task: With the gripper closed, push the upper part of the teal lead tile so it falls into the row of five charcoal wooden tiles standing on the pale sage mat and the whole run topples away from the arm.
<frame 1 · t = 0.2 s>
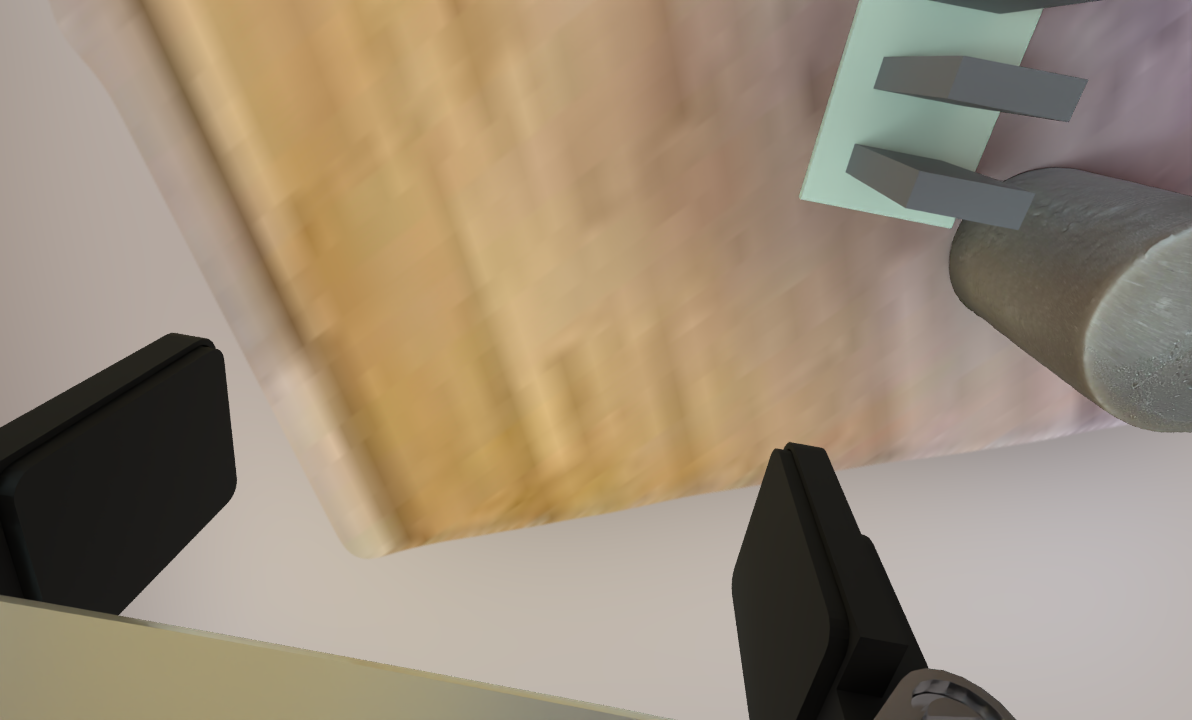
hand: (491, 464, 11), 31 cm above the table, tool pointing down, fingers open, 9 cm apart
pillar candle: (1032, 245, 39), on the table
tile6: (893, 166, 37), point 1 cm above the table, touching mat
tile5: (923, 81, 35), point 1 cm above the table, touching mat
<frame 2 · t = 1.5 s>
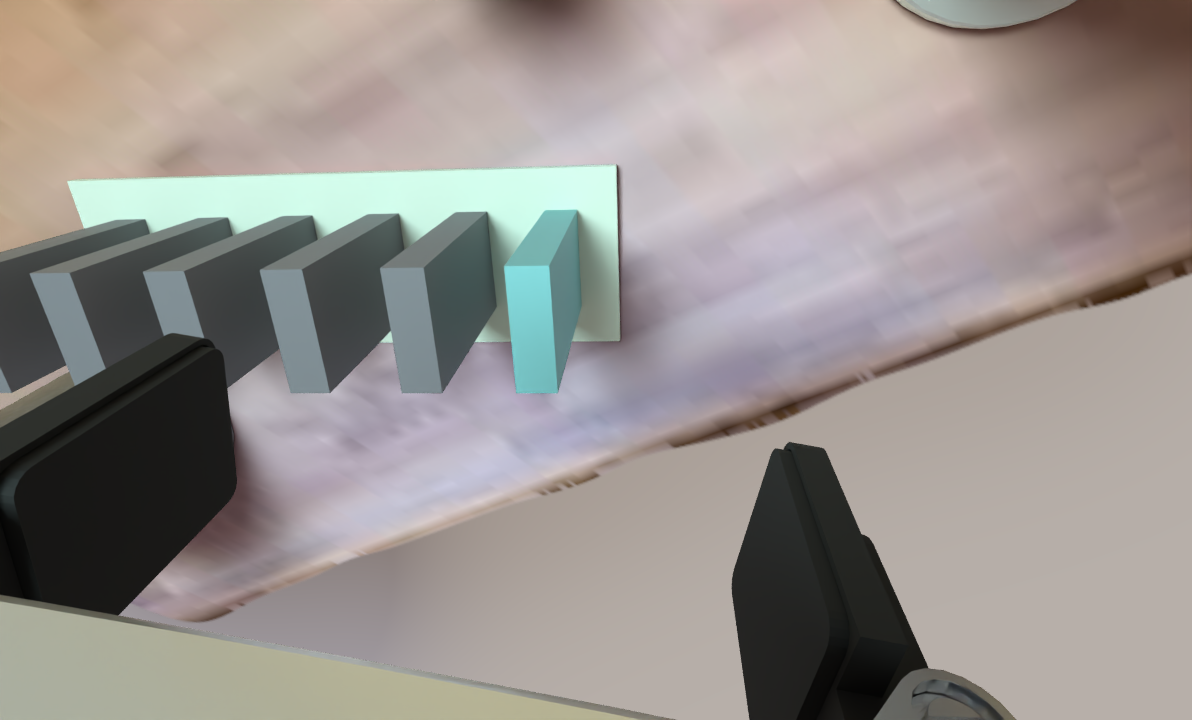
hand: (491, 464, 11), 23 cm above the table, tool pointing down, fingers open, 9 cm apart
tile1: (563, 259, 33), point 1 cm above the table, touching mat
tile4: (307, 263, 34), point 1 cm above the table, touching mat
pillar candle: (162, 419, 40), on the table
tile6: (146, 266, 35), point 1 cm above the table, touching mat
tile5: (226, 264, 34), point 1 cm above the table, touching mat
tile3: (391, 262, 34), point 1 cm above the table, touching mat
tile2: (476, 260, 33), point 1 cm above the table, touching mat
mat: (354, 259, 34), on the table
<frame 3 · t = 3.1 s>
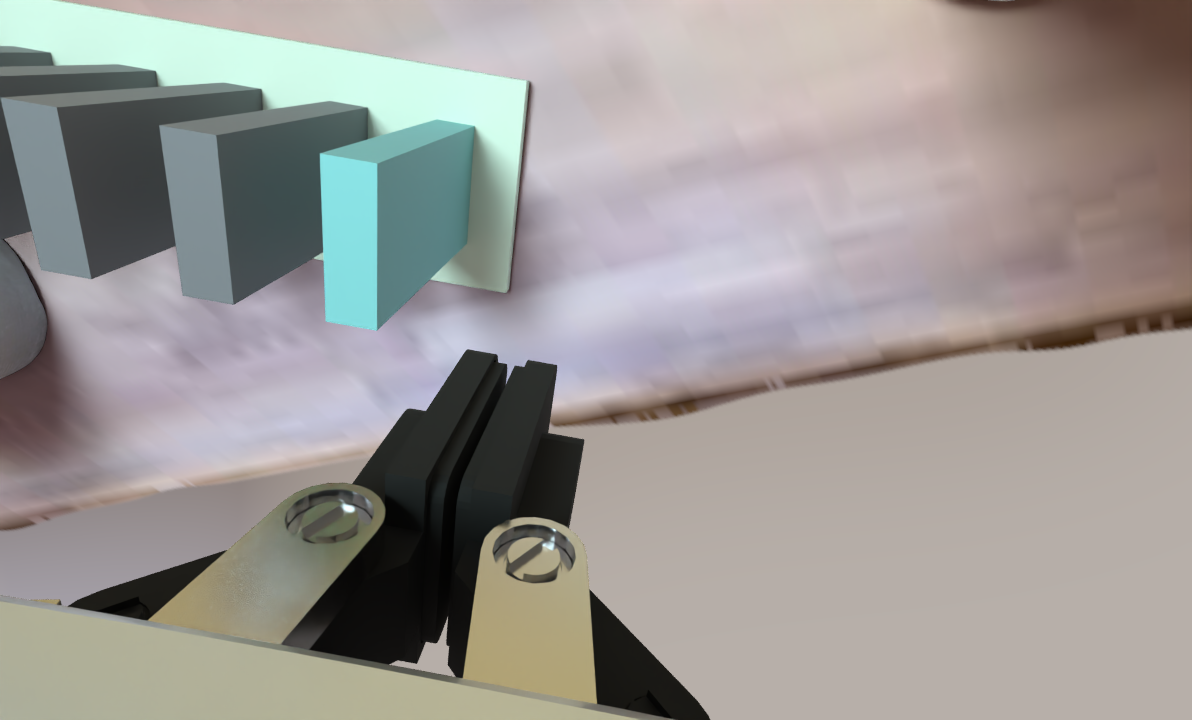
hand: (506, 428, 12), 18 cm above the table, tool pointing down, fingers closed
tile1: (452, 183, 28), point 1 cm above the table, touching mat
tile4: (146, 130, 28), point 1 cm above the table, touching mat
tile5: (45, 112, 28), point 1 cm above the table, touching mat
tile3: (247, 147, 28), point 1 cm above the table, touching mat
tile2: (349, 165, 28), point 1 cm above the table, touching mat
mat: (205, 137, 28), on the table
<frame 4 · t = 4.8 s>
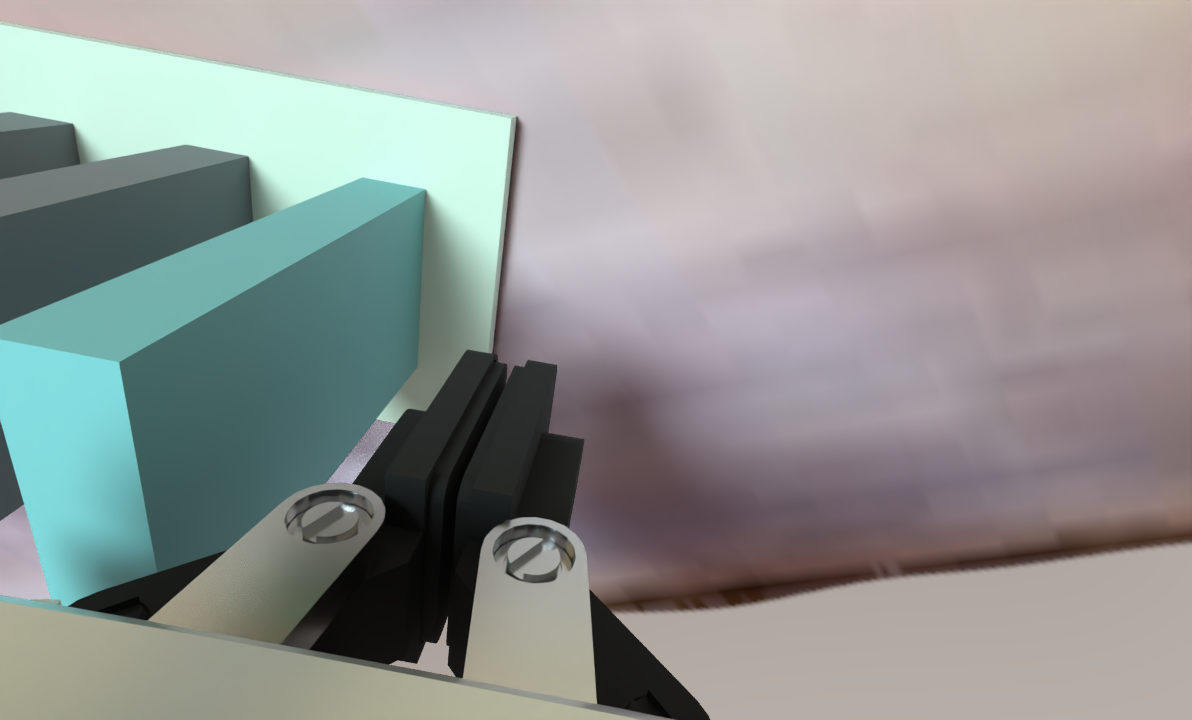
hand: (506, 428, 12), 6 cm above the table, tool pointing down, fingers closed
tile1: (391, 278, 17), point 1 cm above the table, touching mat
tile3: (61, 215, 17), point 1 cm above the table, touching mat
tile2: (226, 246, 17), point 1 cm above the table, touching mat
mat: (0, 196, 18), on the table
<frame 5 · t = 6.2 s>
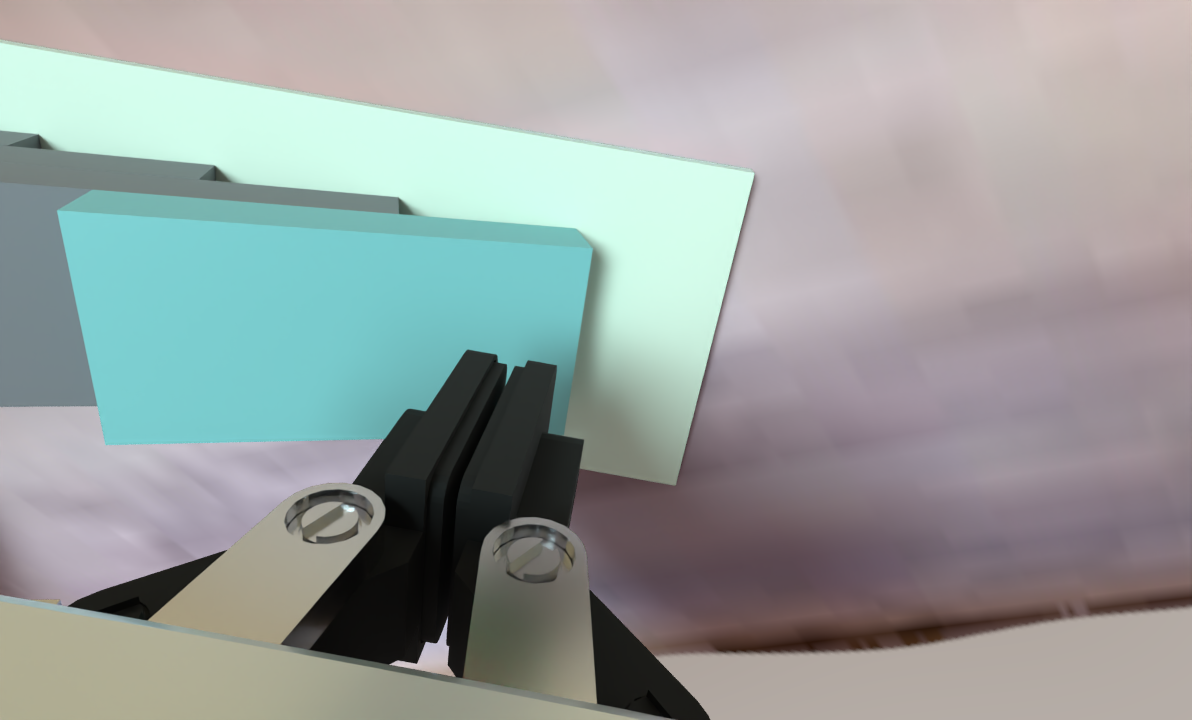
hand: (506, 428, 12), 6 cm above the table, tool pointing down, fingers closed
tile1: (569, 334, 16), point 1 cm above the table, tilted 69°, touching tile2
tile4: (45, 240, 17), point 1 cm above the table, tilted 69°, touching mat, tile3, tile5
tile3: (217, 271, 16), point 1 cm above the table, tilted 69°, touching mat, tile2, tile4
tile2: (396, 303, 16), point 1 cm above the table, tilted 69°, touching mat, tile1, tile3
mat: (204, 249, 18), on the table
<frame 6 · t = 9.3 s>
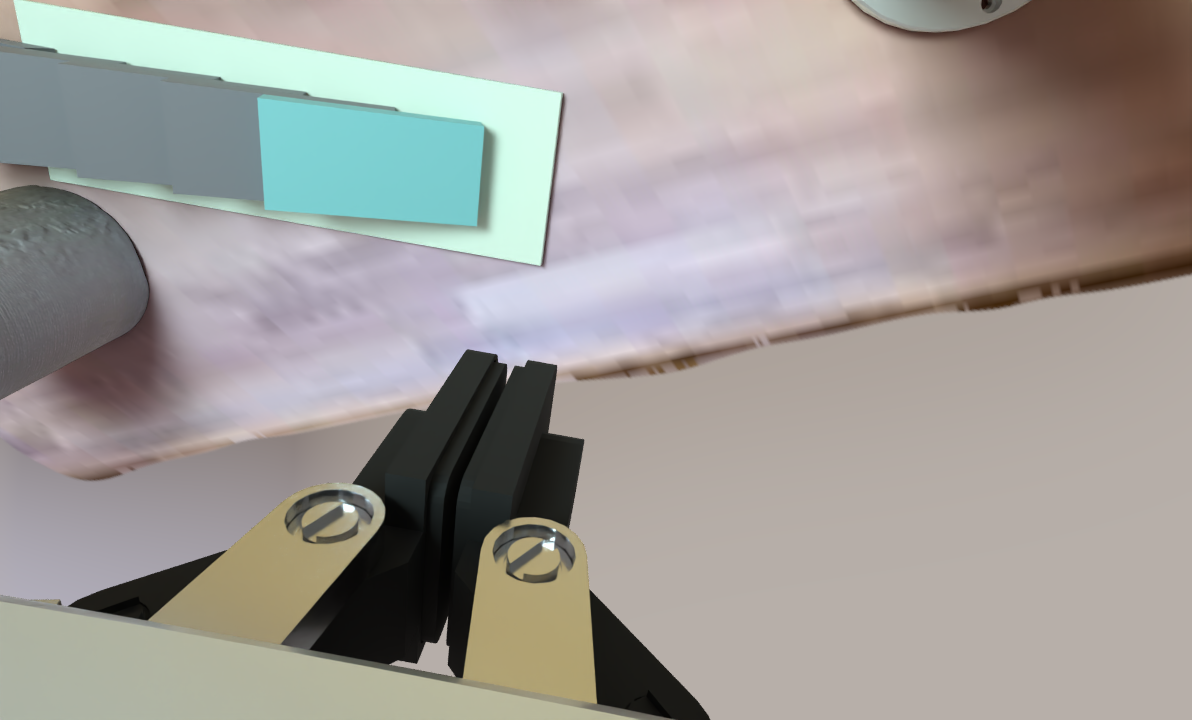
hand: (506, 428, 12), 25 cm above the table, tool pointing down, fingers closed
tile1: (478, 174, 33), point 1 cm above the table, tilted 69°, touching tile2
tile4: (221, 129, 34), point 1 cm above the table, tilted 68°, touching mat, tile3, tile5
pillar candle: (77, 266, 39), on the table
tile6: (50, 100, 34), point 2 cm above the table, tilted 94°, touching mat, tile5
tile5: (128, 115, 34), point 2 cm above the table, tilted 68°, touching tile4, tile6
tile3: (306, 144, 34), point 1 cm above the table, tilted 69°, touching mat, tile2, tile4
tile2: (394, 160, 34), point 1 cm above the table, tilted 69°, touching mat, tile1, tile3
mat: (296, 137, 35), on the table
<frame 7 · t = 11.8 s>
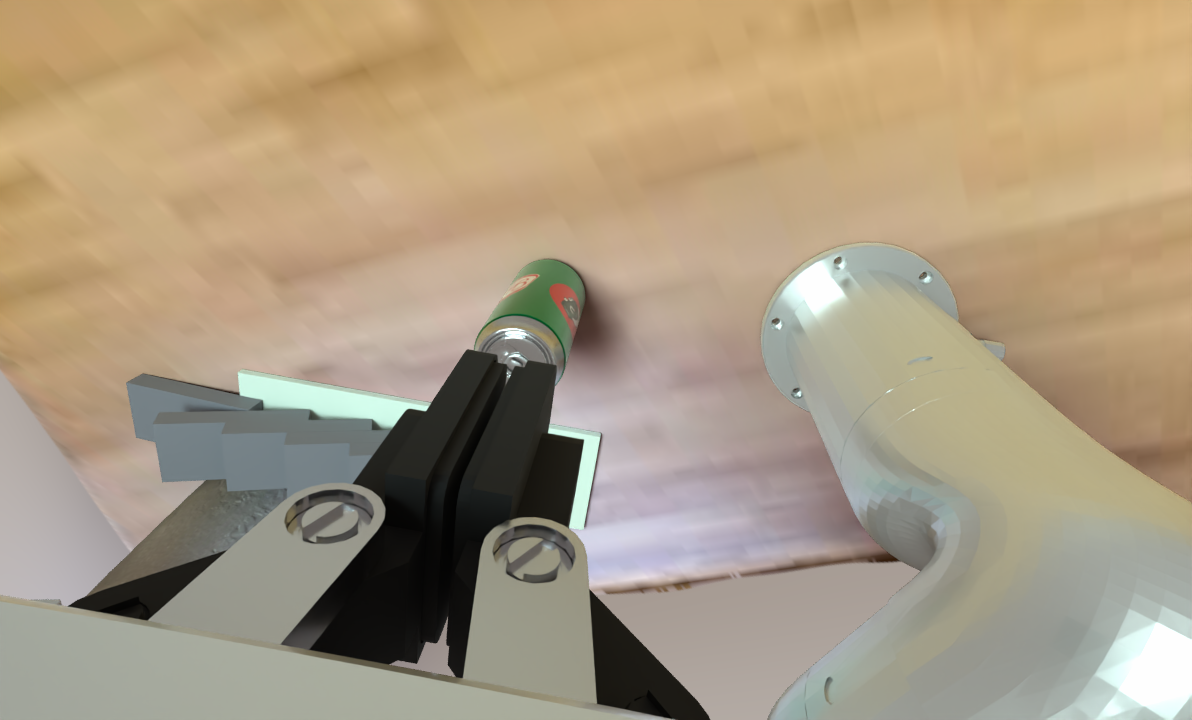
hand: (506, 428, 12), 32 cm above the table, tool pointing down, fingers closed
tile4: (371, 451, 50), point 1 cm above the table, tilted 68°, touching mat, tile3, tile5
pillar candle: (255, 514, 56), on the table
tile6: (257, 432, 50), point 2 cm above the table, tilted 94°, touching mat, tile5
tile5: (310, 442, 50), point 2 cm above the table, tilted 68°, touching tile4, tile6
soda can: (550, 291, 45), on the table
tile3: (428, 462, 50), point 1 cm above the table, tilted 69°, touching mat, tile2, tile4
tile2: (487, 472, 50), point 1 cm above the table, tilted 69°, touching mat, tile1, tile3
mat: (418, 449, 51), on the table
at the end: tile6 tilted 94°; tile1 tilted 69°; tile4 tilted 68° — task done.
